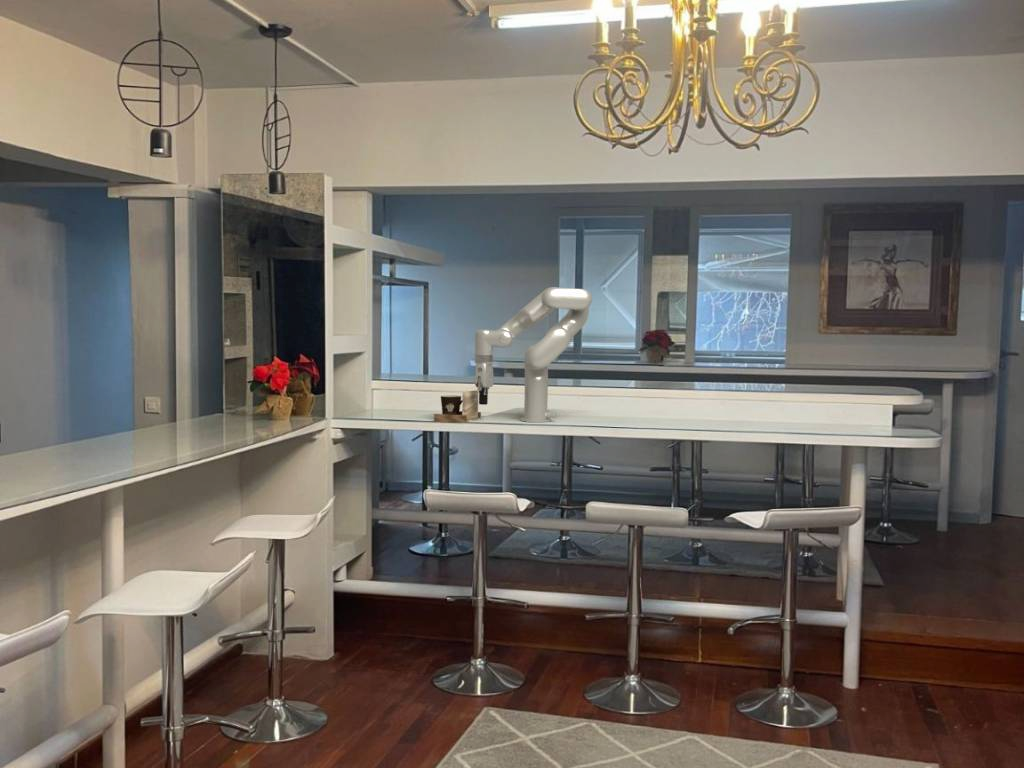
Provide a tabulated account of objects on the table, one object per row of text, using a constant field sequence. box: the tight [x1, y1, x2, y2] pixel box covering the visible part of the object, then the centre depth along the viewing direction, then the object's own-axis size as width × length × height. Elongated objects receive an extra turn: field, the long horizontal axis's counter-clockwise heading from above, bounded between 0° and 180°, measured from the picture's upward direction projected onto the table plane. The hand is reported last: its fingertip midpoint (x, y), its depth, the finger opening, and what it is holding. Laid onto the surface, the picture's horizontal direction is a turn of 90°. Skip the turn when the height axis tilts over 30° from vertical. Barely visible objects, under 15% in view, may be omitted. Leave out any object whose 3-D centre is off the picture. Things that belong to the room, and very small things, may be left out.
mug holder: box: [433, 410, 482, 424], centre depth 397 cm, size 14×17×3 cm
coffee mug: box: [440, 394, 463, 415], centre depth 397 cm, size 12×9×10 cm
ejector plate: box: [461, 389, 479, 423], centre depth 395 cm, size 2×14×12 cm, turn 161°
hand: (483, 404), depth 393 cm, fingers closed
